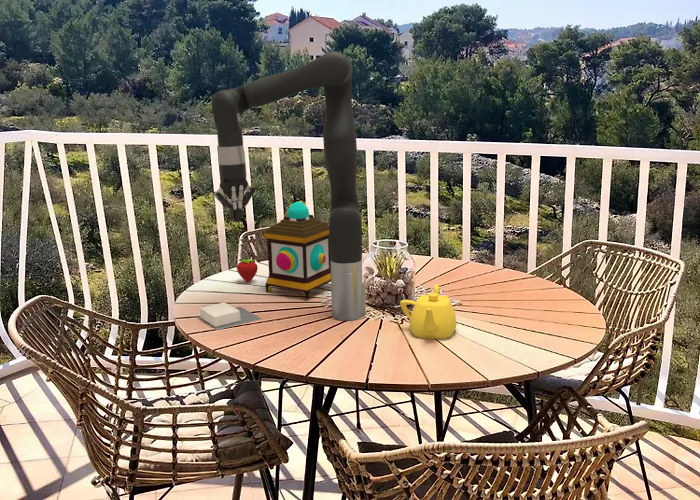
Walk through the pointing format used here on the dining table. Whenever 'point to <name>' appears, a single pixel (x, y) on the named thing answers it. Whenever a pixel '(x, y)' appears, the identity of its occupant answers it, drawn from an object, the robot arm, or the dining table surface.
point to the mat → (244, 318)
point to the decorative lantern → (298, 252)
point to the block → (220, 314)
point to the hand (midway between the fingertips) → (236, 221)
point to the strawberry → (247, 269)
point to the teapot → (431, 316)
